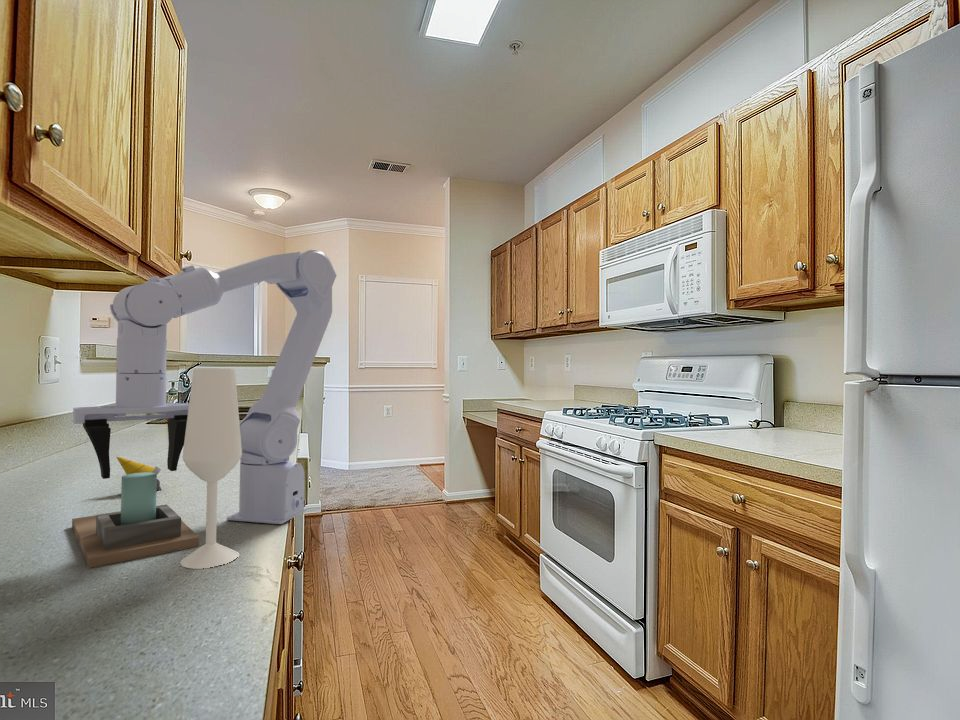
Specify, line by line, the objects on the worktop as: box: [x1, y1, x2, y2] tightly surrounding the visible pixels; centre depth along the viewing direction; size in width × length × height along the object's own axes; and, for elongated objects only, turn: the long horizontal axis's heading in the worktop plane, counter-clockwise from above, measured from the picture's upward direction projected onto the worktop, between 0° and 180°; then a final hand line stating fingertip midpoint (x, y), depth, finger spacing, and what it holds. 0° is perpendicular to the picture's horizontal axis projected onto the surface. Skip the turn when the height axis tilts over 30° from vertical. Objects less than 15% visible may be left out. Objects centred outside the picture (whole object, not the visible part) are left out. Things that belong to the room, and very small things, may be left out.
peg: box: [120, 472, 158, 525], centre depth 71 cm, size 4×4×8 cm
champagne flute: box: [180, 367, 242, 570], centre depth 67 cm, size 7×7×24 cm
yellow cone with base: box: [116, 456, 163, 491], centre depth 98 cm, size 5×5×10 cm
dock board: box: [71, 504, 200, 569], centre depth 74 cm, size 20×12×4 cm, turn 42°
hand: (139, 473), depth 71 cm, fingers open, 7 cm apart
